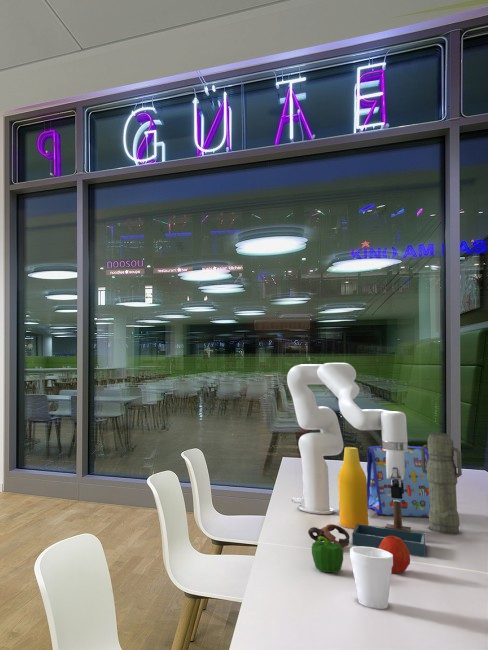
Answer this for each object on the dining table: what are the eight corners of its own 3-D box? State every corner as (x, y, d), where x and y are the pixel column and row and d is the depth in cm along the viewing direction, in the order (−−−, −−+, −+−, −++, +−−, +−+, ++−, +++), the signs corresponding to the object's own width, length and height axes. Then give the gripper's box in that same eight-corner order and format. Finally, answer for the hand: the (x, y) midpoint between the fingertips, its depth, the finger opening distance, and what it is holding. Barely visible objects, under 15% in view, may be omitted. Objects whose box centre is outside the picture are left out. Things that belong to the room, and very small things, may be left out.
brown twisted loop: (339, 544, 204) (348, 526, 201) (345, 564, 196) (355, 546, 192) (302, 532, 207) (310, 515, 203) (306, 552, 199) (316, 534, 195)
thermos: (463, 536, 211) (458, 436, 213) (422, 529, 220) (418, 433, 222) (466, 531, 218) (462, 434, 220) (427, 524, 226) (422, 431, 228)
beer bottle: (336, 522, 229) (333, 445, 231) (362, 523, 227) (359, 446, 229) (345, 529, 220) (342, 449, 222) (373, 530, 218) (369, 450, 220)
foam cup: (353, 593, 161) (351, 544, 162) (394, 601, 156) (392, 550, 157) (350, 605, 153) (348, 553, 154) (394, 614, 148) (392, 560, 149)
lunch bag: (421, 509, 248) (418, 439, 250) (440, 518, 234) (437, 444, 236) (364, 507, 252) (361, 438, 253) (379, 515, 238) (376, 442, 240)
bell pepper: (338, 566, 181) (337, 533, 182) (348, 576, 173) (346, 541, 174) (307, 564, 183) (306, 531, 184) (316, 574, 175) (315, 539, 176)
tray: (352, 545, 202) (352, 532, 202) (357, 535, 213) (356, 523, 213) (424, 556, 190) (424, 544, 190) (425, 546, 201) (425, 533, 201)
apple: (417, 577, 173) (415, 539, 173) (385, 575, 174) (384, 538, 175) (402, 567, 181) (401, 531, 181) (372, 565, 182) (371, 529, 183)
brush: (385, 537, 211) (384, 501, 211) (386, 533, 215) (385, 498, 216) (410, 540, 206) (409, 504, 207) (411, 537, 210) (409, 501, 211)
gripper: (384, 443, 222) (386, 490, 220) (380, 448, 208) (383, 498, 206) (408, 444, 217) (411, 492, 216) (406, 450, 203) (409, 501, 202)
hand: (397, 495), depth 211 cm, fingers open, 9 cm apart
